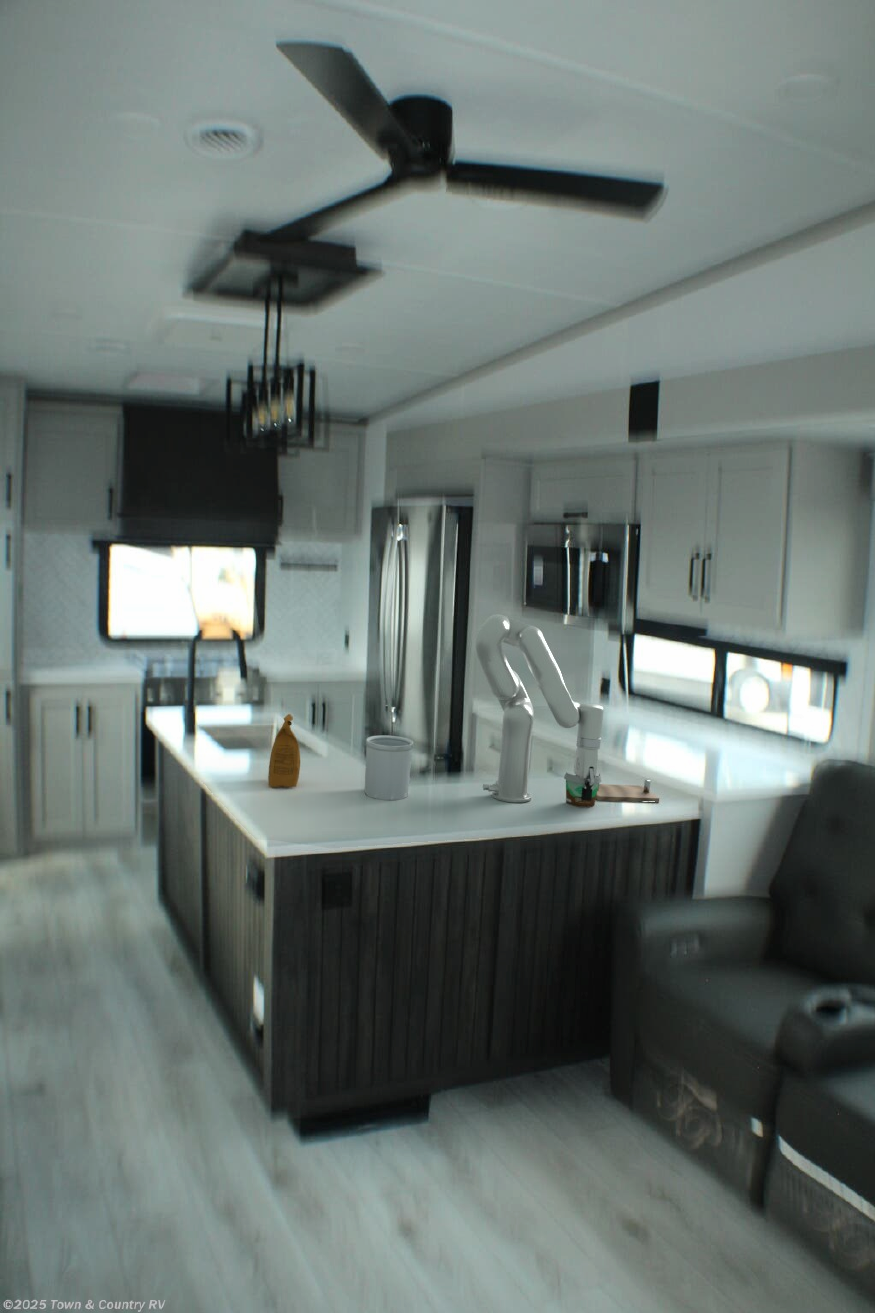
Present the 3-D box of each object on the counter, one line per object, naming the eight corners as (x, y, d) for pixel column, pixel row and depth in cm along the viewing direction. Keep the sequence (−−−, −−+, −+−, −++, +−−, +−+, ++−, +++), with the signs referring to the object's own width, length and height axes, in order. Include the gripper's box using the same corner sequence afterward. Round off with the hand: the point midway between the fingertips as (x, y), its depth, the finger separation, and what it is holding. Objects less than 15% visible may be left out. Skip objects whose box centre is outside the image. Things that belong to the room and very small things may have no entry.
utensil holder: (403, 803, 306) (407, 747, 304) (356, 797, 309) (360, 742, 307) (414, 792, 321) (418, 738, 319) (369, 786, 324) (373, 733, 321)
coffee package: (301, 780, 324) (305, 714, 321) (297, 790, 312) (301, 721, 309) (270, 778, 323) (274, 712, 321) (265, 788, 311) (269, 719, 308)
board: (598, 800, 328) (600, 784, 327) (583, 787, 343) (585, 772, 343) (658, 802, 331) (660, 786, 330) (641, 790, 347) (643, 774, 346)
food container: (567, 807, 316) (569, 776, 315) (561, 802, 322) (564, 772, 321) (604, 808, 318) (607, 778, 317) (598, 803, 324) (601, 773, 323)
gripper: (569, 736, 326) (564, 790, 328) (585, 748, 309) (580, 805, 311) (591, 737, 327) (586, 791, 329) (608, 749, 310) (603, 805, 313)
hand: (583, 797), depth 320 cm, fingers closed on food container, 5 cm apart
